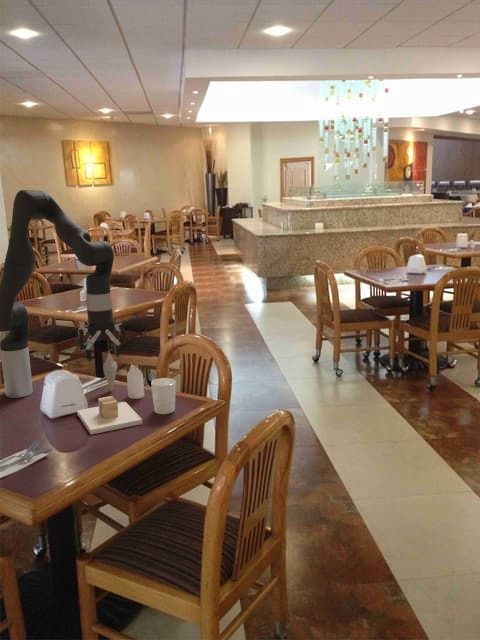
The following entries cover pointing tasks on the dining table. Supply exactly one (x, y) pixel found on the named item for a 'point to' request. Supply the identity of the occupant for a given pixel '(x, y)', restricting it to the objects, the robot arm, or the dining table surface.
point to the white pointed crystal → (135, 383)
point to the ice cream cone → (110, 370)
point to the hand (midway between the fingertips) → (103, 358)
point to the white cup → (163, 395)
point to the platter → (99, 424)
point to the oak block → (108, 407)
